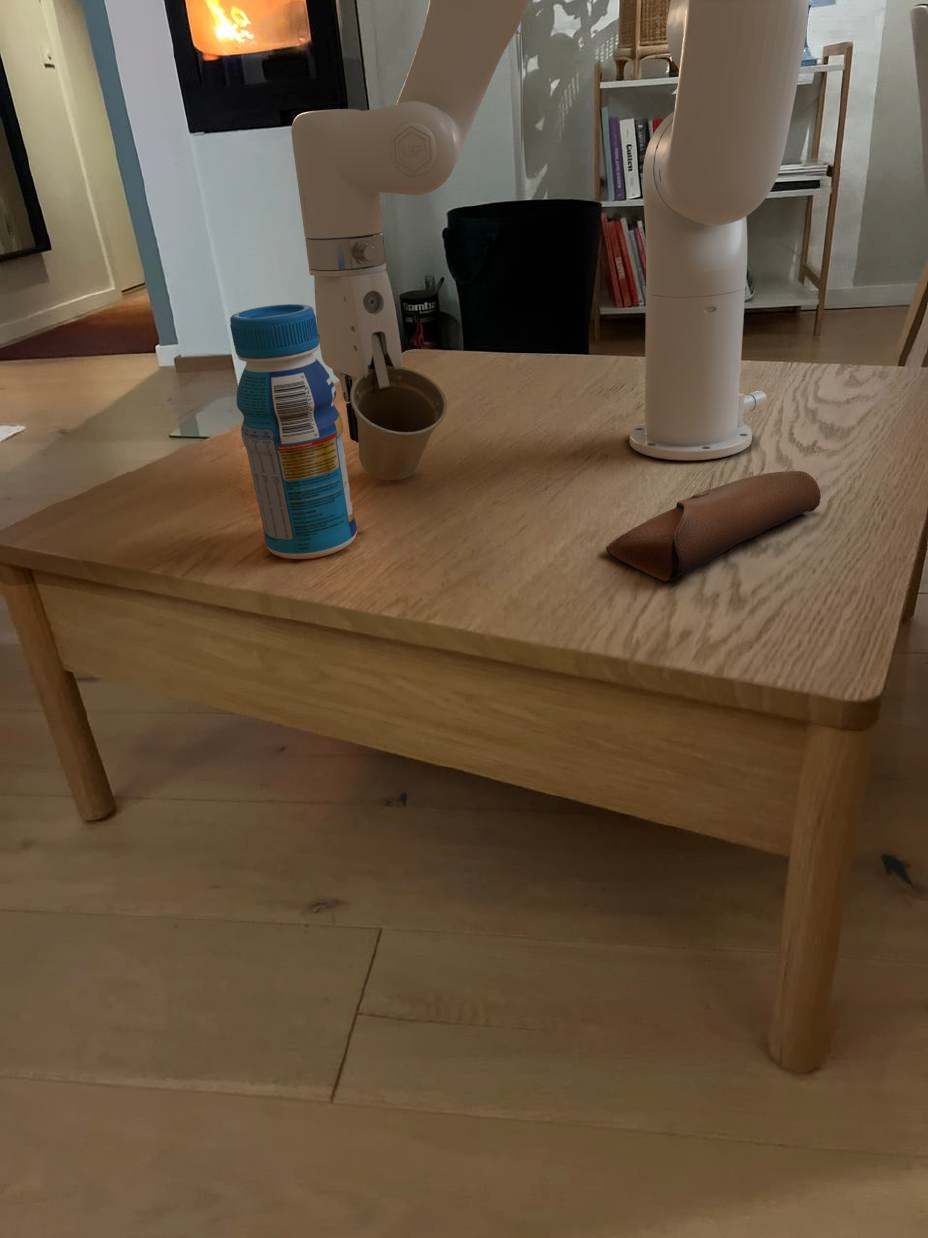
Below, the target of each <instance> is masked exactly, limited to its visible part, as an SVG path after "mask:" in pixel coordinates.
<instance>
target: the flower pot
mask: <svg viewBox="0 0 928 1238" xmlns="http://www.w3.org/2000/svg"><path fill="white" fill-rule="evenodd" d="M386 369H387V373H388V378H389V383H390V389H389V390H386V391H382V392H377V393H372V392H373V388H372V379H373V370H372V369H371V370H368V372H370V373H369V374H368V377H367V378H365V377H364V376H363V375H360V376H359V377H358V378H357V379H356V381H355V382H354V384H353V386H352V388H351V393H350V401H351V405H352V407H353V409H354V411H355V415H356V417H357V424H358V441H359V443H358V460H359V462H360V465H361V467H362V468H363V470H365V471H366V472H367V474H369V475H370V476H372V477H373V478H376V479H379V480H382V481H386V482H388V481H393V480H397V481H403V480H405V479H407V478H409V477H411V476H412V475H413V474H414V473H415V472H416V471H417V469H418V466H419V464H420V461H421V459H422V456H423V453H424V451H425V450H426V447H427V445H428V442H429V440H430V438H431V435H432V434H433V433H434V431H435V430H436V429H437V427H438V426H439V425H440V424H441V423H442V422H443V420H444V419H445V416H446V414H447V409H448V402H447V398H446V396H445V393H444V392H443V390H442V389H441V387H440V385H438V384H437V383H436V382H435V381H434V380H433V379H432V378H430V377H429V376H427V375H425V374H424V373H421V372H419V371H418V370H415V369H412V368H408V367H405V366H402V368H401V369H397V370H394V369H393V366H386Z"/></svg>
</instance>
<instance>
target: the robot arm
mask: <svg viewBox="0 0 928 1238" xmlns="http://www.w3.org/2000/svg"><path fill="white" fill-rule="evenodd" d="M530 3H531V0H429V2H428V8H427V12H426V16H425V21H424V24H423V28H422V31H421V34H420V38H419V41H418V44H417V46H416V50H415V53H414V55H413V59H412V61H411V64H410V66H409V70H408V72H407V74H406V77H405V81H404V83H403V85H402V88H401V90H400V93H399V96H398V99H397V101H396V103H395V104H390V105H386V106H382V107H378V108H372V109H365V110H360V109H355V108H342V109H341V108H336V109H322V110H312V111H311V110H310V111H306V112H302V113H300V114H298V115H297V116H296V117H295V118H294V119H293V122H292V124H291V131H290V133H291V143H292V150H293V151H292V152H293V159H294V164H295V165H294V166H295V173H296V180H297V181H296V182H297V188H298V196H299V204H300V210H301V220H302V227H303V234H304V242H305V250H306V257H307V262H308V263H307V264H308V272H309V273H308V274H309V275H310V276H313V284H314V285H313V287H314V288H313V289H314V303H315V304H314V305H315V316H316V323H317V329H318V337H319V351H320V354H321V358H322V362H323V363H324V364H325V366H327V367H328V368H330V369H331V370H332V373H333V375H334V376H335V377H336V378H337V379H338V381H339V382H340V387H341V393H342V397H343V400H344V402H345V407H346V409H345V410H346V417H347V425H348V432H349V433H348V434H349V438H350V440H351V441H354V442H356V443H357V444H359V441H358V424H357V417H356V415H355V411H354V409H353V407H352V405H351V401H350V393H351V388H352V386H353V384H354V382H355V381H356V379H357V378H358V377H359V376H360V375H363V376H364V377H365V378H367V377H368V374H369V373H370V372H368V370H371V369H372V370H373V379H372V388H373V392H372V393H377V392H382V391H386V390H389V389H390V383H389V378H388V373H387V369H386V366H393V369H394V370H397V369H401V368H402V367H404V366H403V364H404V363H403V353H402V352H403V351H402V345H401V338H400V330H399V323H398V317H397V316H398V315H397V312H396V311H397V310H396V305H395V300H394V295H393V290H392V285H391V282H390V278H389V275H388V272H387V262H386V261H387V260H386V249H385V241H384V240H385V239H384V228H383V217H382V209H381V208H382V206H381V205H382V204H381V196H380V193H386V194H397V195H407V196H408V195H409V196H420V195H425V194H426V195H427V194H430V193H432V192H433V191H436V190H437V189H439V188H440V187H442V185H444V183H446V182H447V180H448V179H449V177H450V176H451V174H452V172H453V170H454V169H455V166H456V165H457V162H458V159H459V157H460V154H461V152H462V149H463V147H464V145H465V142H466V139H467V138H468V135H469V132H470V130H471V128H472V126H473V122H474V121H475V118H476V116H477V113H478V111H479V108H480V106H481V104H482V102H483V99H484V97H485V94H486V91H487V90H488V87H489V85H490V83H491V81H492V78H493V76H494V74H495V71H496V69H497V67H498V65H499V63H500V61H501V58H502V57H503V55H504V53H505V52H506V51H505V50H506V49H507V47H508V46H509V44H510V43H511V41H512V39H513V38H514V36H515V34H516V33H517V31H518V28H519V27H520V24H521V22H522V20H523V18H524V15H525V13H526V11H527V8H528V7H529V4H530ZM809 5H810V4H809V0H670V1H669V8H668V11H667V12H668V13H667V19H666V42H667V48H668V51H669V54H670V57H671V59H672V61H673V63H674V64H675V66H676V67H677V68H678V77H677V78H678V80H677V87H676V88H677V89H676V95H675V102H674V110H673V112H671V113H670V114H668V115H667V116H666V117H664V119H663V121H661V122H660V124H659V125H658V126H657V127H656V128H655V131H654V132H653V134H652V135H651V138H650V139H649V142H648V144H647V147H646V151H645V155H644V159H643V167H642V197H643V200H642V201H643V212H644V226H645V227H644V228H645V229H644V231H645V345H644V346H645V347H644V349H645V353H644V422H642V423H640V424H638V425H636V426H634V428H632V429H631V431H630V432H629V444H630V447H631V448H632V449H633V450H634V451H636V452H638V453H640V454H642V455H645V456H648V457H652V458H656V459H662V460H669V461H670V460H671V461H706V460H713V459H720V458H725V457H729V456H733V455H736V454H738V453H740V452H742V451H744V450H745V449H747V448H748V447H750V445H751V444H752V442H753V441H752V440H753V430H752V428H750V427H749V425H747V424H745V423H744V417H746V416H747V414H748V413H749V412H753V411H756V410H760V409H763V408H764V407H766V405H767V403H768V397H767V395H766V394H767V393H765V392H764V391H763V390H756V391H751V392H749V393H746V394H745V393H742V392H740V385H741V369H742V368H741V367H742V352H743V351H742V350H743V337H744V336H743V333H744V315H745V302H746V301H745V300H746V286H747V275H748V273H747V271H748V227H747V226H748V223H747V222H748V221H747V219H748V218H747V217H748V216H749V215H751V214H752V213H753V212H754V211H755V210H757V209H758V207H760V205H761V204H762V203H763V202H764V201H765V200H766V199H767V197H768V195H769V194H770V192H771V191H772V188H773V187H774V185H775V183H776V180H777V179H778V175H779V173H780V170H781V166H782V163H783V159H784V155H785V150H786V146H787V141H788V137H789V132H790V127H791V120H792V115H793V109H794V105H795V99H796V93H797V90H798V89H797V88H798V83H799V77H800V71H801V66H802V61H803V55H804V49H805V43H806V38H807V32H808V26H809V25H808V23H809V13H810V12H809V8H810V7H809Z"/></svg>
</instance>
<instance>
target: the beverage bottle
mask: <svg viewBox="0 0 928 1238" xmlns="http://www.w3.org/2000/svg"><path fill="white" fill-rule="evenodd" d="M229 321H230V324H229V326H230V332H231V337H232V341H233V346H234V350H235V354H236V356H237V358H238V360H240V361H242V362H245V367H244V368H243V371H242V373H241V376H240V378H239V382H238V385H237V389H236V407H237V409H238V411H239V412H240V413H241V414H242V416H243V421H242V423H241V428H240V434H241V440H242V443H243V445H244V447H245V450H246V454H247V459H248V463H249V468H250V472H251V477H252V482H253V486H254V491H255V496H256V500H257V505H258V511H259V515H260V520H261V525H262V529H263V537H264V542H265V546H266V548H267V549H268V551H269V552H270V553H272V554H273V555H275V556H277V557H279V558H284V559H289V560H310V559H317V558H321V557H325V556H326V557H327V556H328V555H333V554H335V553H337V552H339V551H342V550H344V549H345V548H347V547H349V546H350V545H351V544H352V543H353V542H354V541H355V539H356V537H357V534H358V527H357V521H356V518H355V513H354V508H353V507H354V506H353V501H352V496H351V489H350V483H349V482H350V481H349V474H348V468H347V461H346V455H345V454H346V453H345V448H344V447H345V446H344V440H343V433H344V423H343V420H342V416H341V413H340V412H339V410H338V409H337V408H336V406H335V400H336V396H337V389H336V386H335V384H334V381H333V379H332V377H331V376H330V374H329V372H328V371H327V369H326V368H325V366H324V365H323V364H322V363H321V361H319V359H317V357H316V356H315V355H314V353H315V352H317V351H318V350H319V349H320V344H319V337H318V328H317V318H316V313H315V310H314V308H313V307H312V306H310V305H308V304H303V303H301V304H299V303H287V304H274V305H266V306H259V307H254V308H250V309H245V310H242V311H239V312H236V313H234V314H232V315H231V316H230V318H229Z"/></svg>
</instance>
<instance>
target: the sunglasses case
mask: <svg viewBox="0 0 928 1238" xmlns="http://www.w3.org/2000/svg"><path fill="white" fill-rule="evenodd" d="M821 498H822V497H821V489H820V487H819V485H818V482H817V481H816V480H815V478H814V477H813V476H812V475H810V474H809V473H807V472H806V471H801V470H789V471H787V470H785V471H775V472H767V473H762V474H761V473H760V474H757V475H752V476H748V477H745V478H741V479H737V480H733V481H731V482H728V483H725V484H723V485H720V486H716V487H712V488H709V489H706V490H703V491H701V492H698V493H695V494H693V495H691V496H689V497H687V498H685V499H681V500H679V501H677V502H676V505H675V507H674V508H671V509H669V510H667V511H665V512H663V513H660V514H659V515H657V516H654V517H653V518H650V519H648V520H646V521H645V522H642V523H640V524H638V525H637V526H635V527H633V528H632V529H630V530H628V531H627V532H625V533H623V534H621V535H619V536H618V537H616V538H615V539H614V540H612V541H611V542H609V544H607V546H605V550H606V552H607V554H608V555H609V556H611V557H613V558H614V559H616V560H617V561H619V562H621V563H622V564H624V565H625V566H628V567H629V568H631V569H633V570H636V571H637V572H640V573H642V574H645V575H647V576H650V577H651V578H654V579H656V580H658V581H661V582H663V583H669V582H673V581H674V580H675V579H677V578H678V577H679V576H680V575H686V574H688V573H690V572H692V571H693V570H695V569H697V568H700V567H701V566H702V565H704V564H706V563H707V562H708V561H710V560H712V559H714V558H716V557H717V556H718V555H720V554H722V553H725V552H726V551H728V550H730V549H732V548H733V547H735V545H737V544H739V543H743V542H744V541H747V540H749V539H751V538H753V537H756V536H758V535H760V534H762V533H763V532H766V531H768V530H769V529H771V528H773V527H776V526H778V525H781V524H783V523H785V522H787V521H789V520H791V519H794V518H795V517H797V516H800V515H802V514H805V513H806V512H808V513H812V512H813V511H815V510H816V509H817V508H818V507H819V506H820V503H821Z"/></svg>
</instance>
